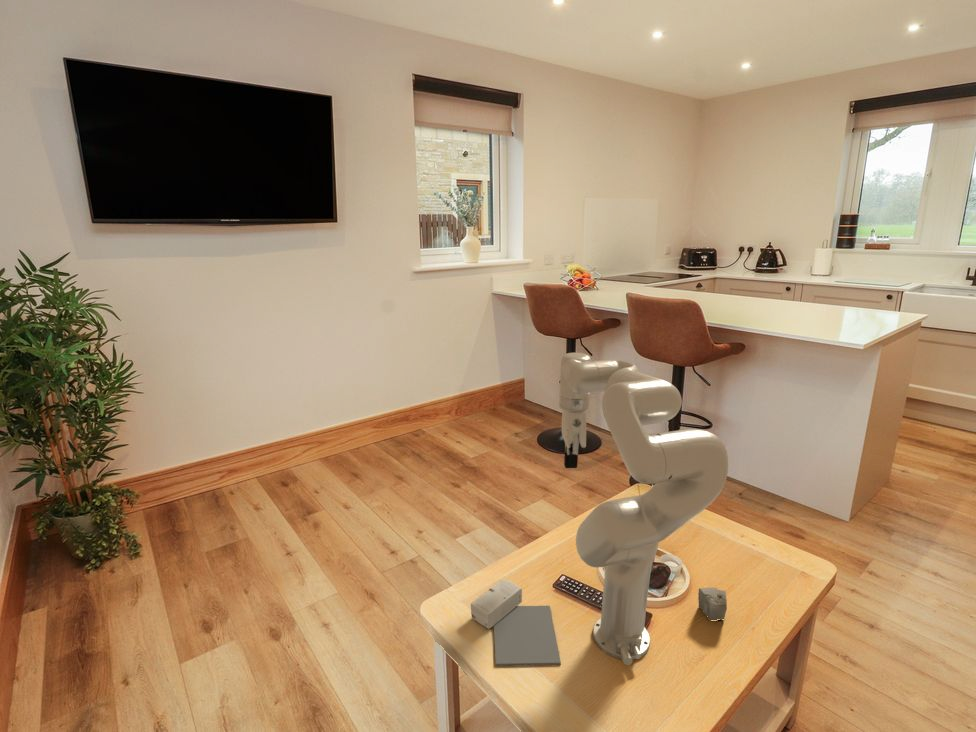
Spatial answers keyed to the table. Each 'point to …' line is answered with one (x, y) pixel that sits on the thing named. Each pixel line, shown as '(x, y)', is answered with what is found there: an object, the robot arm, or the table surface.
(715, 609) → the mineral specimen
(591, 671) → the table surface
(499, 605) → the skincare box
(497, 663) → the mat
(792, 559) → the table surface
